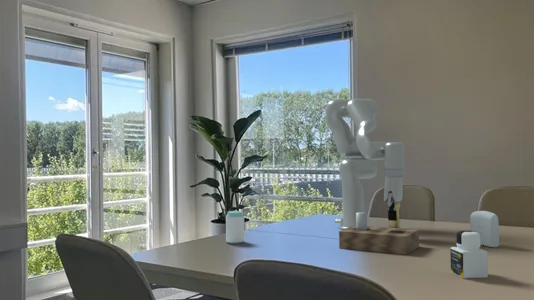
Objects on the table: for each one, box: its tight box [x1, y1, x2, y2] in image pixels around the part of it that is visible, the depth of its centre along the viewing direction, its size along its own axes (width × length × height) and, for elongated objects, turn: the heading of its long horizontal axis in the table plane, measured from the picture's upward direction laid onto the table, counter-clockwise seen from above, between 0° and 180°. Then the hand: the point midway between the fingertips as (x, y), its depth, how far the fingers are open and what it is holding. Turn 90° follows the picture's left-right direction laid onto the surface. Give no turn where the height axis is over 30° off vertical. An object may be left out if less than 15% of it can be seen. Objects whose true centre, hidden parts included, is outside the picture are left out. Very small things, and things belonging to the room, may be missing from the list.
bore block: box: [338, 225, 420, 256], centre depth 170 cm, size 24×16×6 cm, turn 58°
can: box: [225, 210, 245, 245], centre depth 184 cm, size 7×7×12 cm
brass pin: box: [388, 202, 400, 228], centre depth 188 cm, size 4×4×10 cm
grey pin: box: [356, 211, 368, 231], centre depth 174 cm, size 4×4×10 cm
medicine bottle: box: [450, 230, 489, 280], centre depth 130 cm, size 7×7×12 cm
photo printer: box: [469, 210, 500, 248], centre depth 171 cm, size 10×4×12 cm, turn 26°
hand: (394, 219), depth 188 cm, fingers closed on brass pin, 4 cm apart
